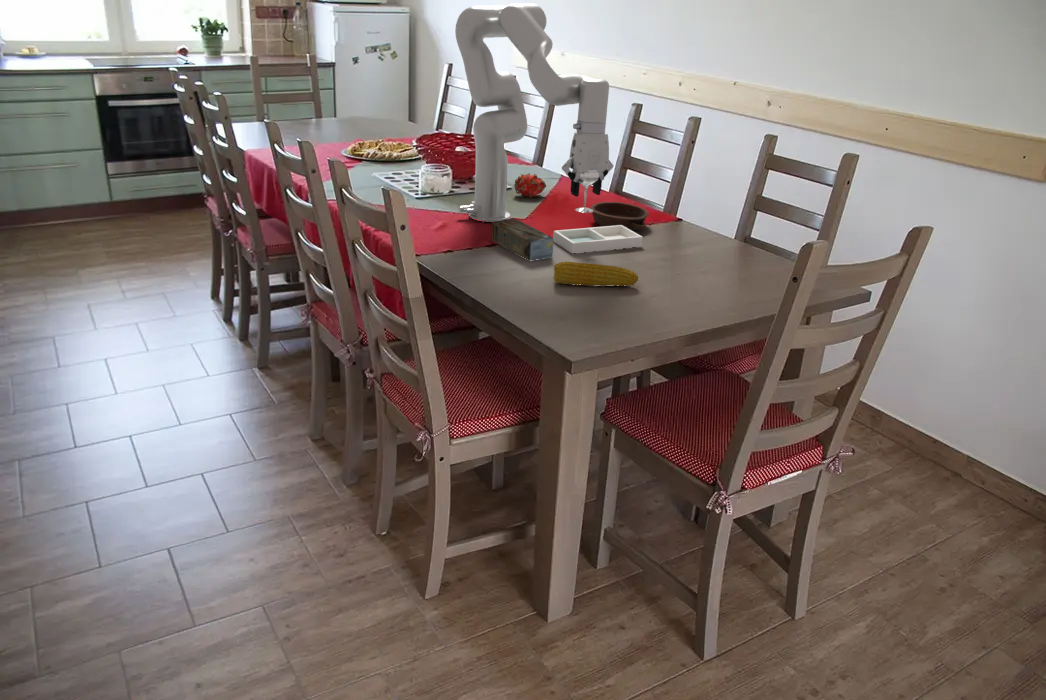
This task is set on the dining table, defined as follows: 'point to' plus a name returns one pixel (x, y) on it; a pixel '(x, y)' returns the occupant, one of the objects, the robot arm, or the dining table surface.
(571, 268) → the food
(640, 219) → the dish
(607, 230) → the white divided tray
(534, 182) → the dragon fruit
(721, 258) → the dining table surface
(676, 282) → the dining table surface
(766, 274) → the dining table surface
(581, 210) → the wineglass
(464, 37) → the robot arm
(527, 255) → the beverage carton
